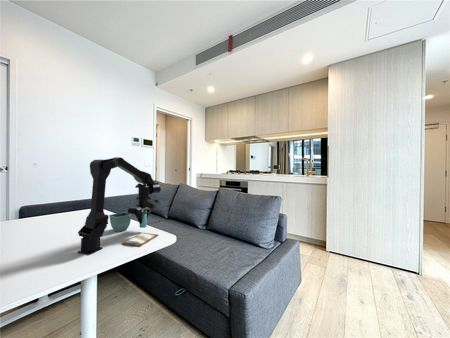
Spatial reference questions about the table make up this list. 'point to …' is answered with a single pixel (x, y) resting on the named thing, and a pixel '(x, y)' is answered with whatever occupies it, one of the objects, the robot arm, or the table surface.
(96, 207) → the robot arm
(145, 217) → the teal capped bottle
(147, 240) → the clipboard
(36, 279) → the table surface
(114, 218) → the flower pot
